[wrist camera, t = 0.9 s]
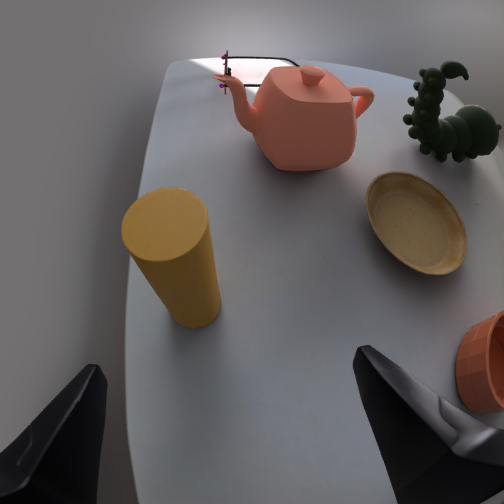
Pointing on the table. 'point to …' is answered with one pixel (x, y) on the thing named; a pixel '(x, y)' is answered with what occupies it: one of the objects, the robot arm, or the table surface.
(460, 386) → the pot
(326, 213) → the table surface
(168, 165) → the table surface
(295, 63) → the glasses
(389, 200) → the plant saucer
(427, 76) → the toy figurine
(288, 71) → the teapot
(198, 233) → the cylinder
